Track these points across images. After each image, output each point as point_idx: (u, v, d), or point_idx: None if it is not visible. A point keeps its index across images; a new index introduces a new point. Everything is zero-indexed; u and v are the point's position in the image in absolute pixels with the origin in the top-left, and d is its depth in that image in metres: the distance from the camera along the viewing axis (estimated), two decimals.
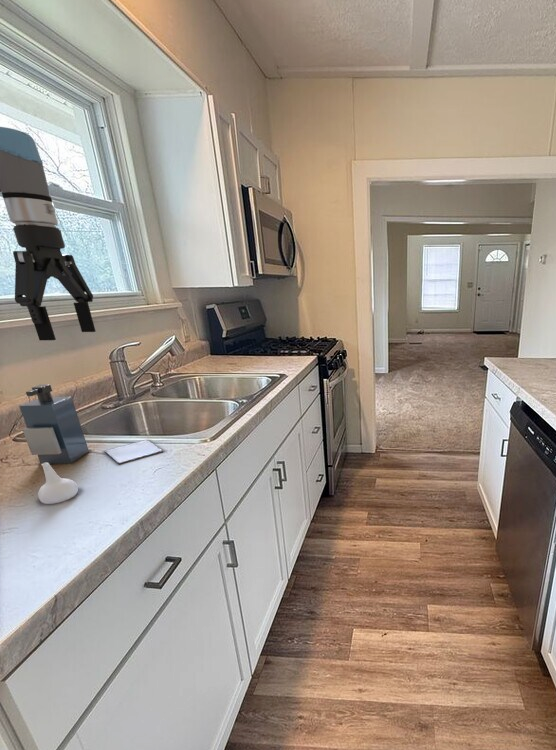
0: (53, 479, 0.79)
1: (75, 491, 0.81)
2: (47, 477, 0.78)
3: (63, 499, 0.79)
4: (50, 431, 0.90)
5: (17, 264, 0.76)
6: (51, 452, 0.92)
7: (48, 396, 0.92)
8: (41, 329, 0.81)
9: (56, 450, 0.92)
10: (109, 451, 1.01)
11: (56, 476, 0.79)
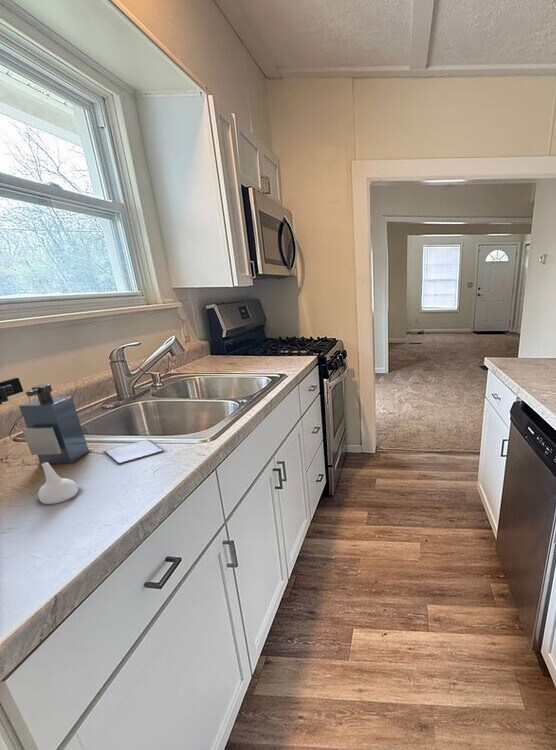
0: (53, 479, 0.79)
1: (75, 491, 0.81)
2: (47, 477, 0.78)
3: (63, 499, 0.79)
4: (50, 431, 0.90)
5: None
6: (51, 452, 0.92)
7: (48, 396, 0.92)
8: None
9: (56, 450, 0.92)
10: (109, 451, 1.01)
11: (56, 476, 0.79)
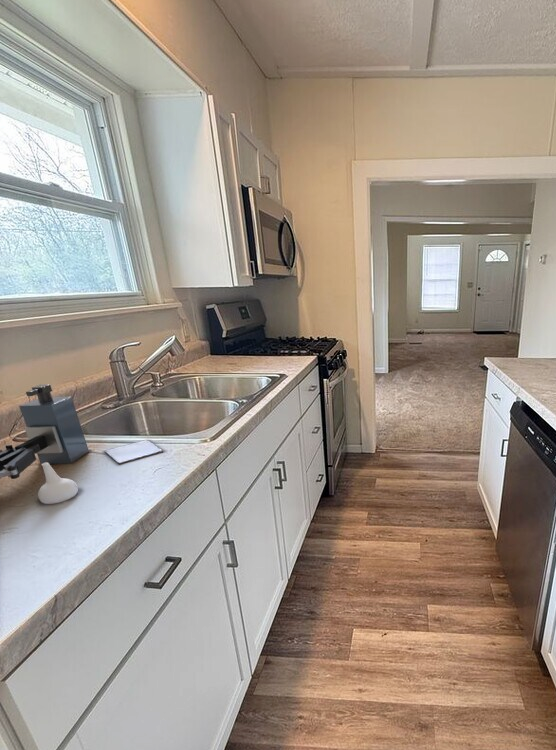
0: (53, 479, 0.79)
1: (75, 491, 0.81)
2: (47, 477, 0.78)
3: (63, 499, 0.79)
4: (52, 430, 0.91)
5: None
6: (53, 451, 0.93)
7: (48, 396, 0.92)
8: None
9: (58, 449, 0.93)
10: (109, 451, 1.01)
11: (56, 476, 0.79)
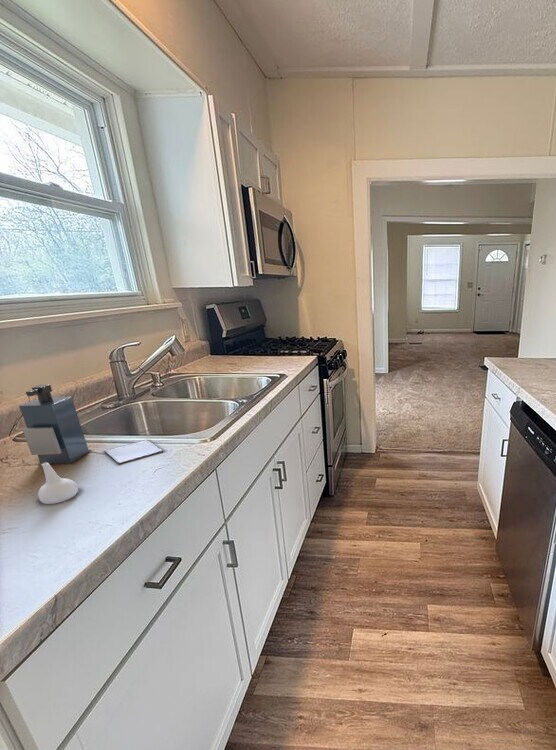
0: (53, 479, 0.79)
1: (75, 491, 0.81)
2: (47, 477, 0.78)
3: (63, 499, 0.79)
4: (50, 431, 0.90)
5: None
6: (51, 452, 0.92)
7: (48, 396, 0.92)
8: None
9: (56, 450, 0.92)
10: (109, 451, 1.01)
11: (56, 476, 0.79)
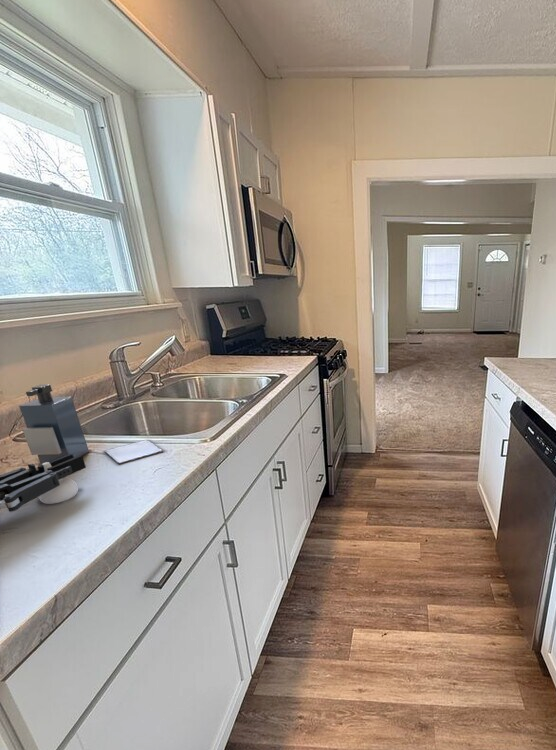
0: None
1: (75, 491, 0.81)
2: None
3: (63, 499, 0.79)
4: (50, 431, 0.90)
5: None
6: (51, 452, 0.92)
7: (48, 396, 0.92)
8: None
9: (56, 450, 0.92)
10: (109, 451, 1.01)
11: None
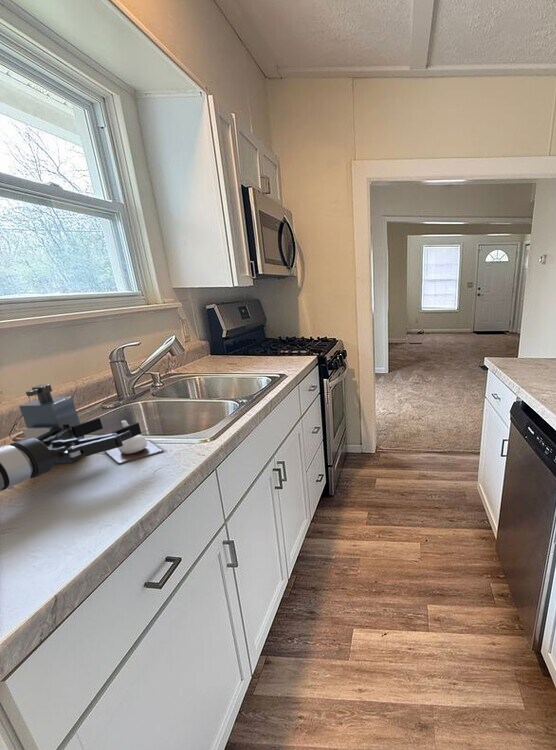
0: None
1: (145, 444, 1.01)
2: None
3: (137, 449, 0.99)
4: None
5: None
6: None
7: (48, 396, 0.92)
8: None
9: None
10: (109, 451, 1.01)
11: None
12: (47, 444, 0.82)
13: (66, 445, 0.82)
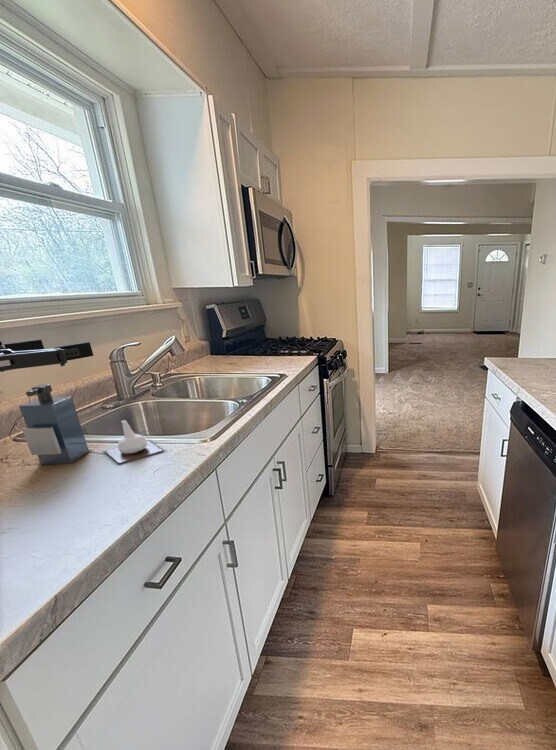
0: (130, 433, 0.99)
1: (145, 444, 1.01)
2: (125, 432, 0.99)
3: (137, 449, 0.99)
4: (50, 431, 0.90)
5: None
6: (51, 452, 0.92)
7: (48, 396, 0.92)
8: None
9: (56, 450, 0.92)
10: (109, 451, 1.01)
11: (132, 431, 0.99)
12: None
13: None
